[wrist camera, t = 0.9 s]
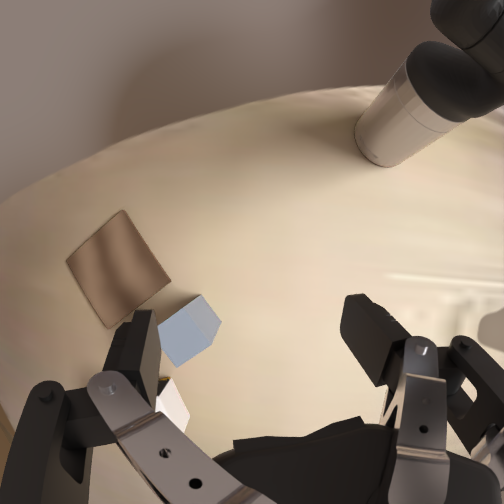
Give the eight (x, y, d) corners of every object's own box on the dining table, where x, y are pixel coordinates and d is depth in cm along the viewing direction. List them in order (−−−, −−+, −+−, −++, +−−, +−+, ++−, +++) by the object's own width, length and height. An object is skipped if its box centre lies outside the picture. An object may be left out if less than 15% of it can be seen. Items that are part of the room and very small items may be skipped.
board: (125, 210, 38) (122, 209, 37) (171, 281, 38) (169, 281, 37) (69, 260, 38) (66, 260, 37) (110, 327, 38) (107, 329, 37)
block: (201, 294, 38) (183, 307, 27) (221, 321, 38) (211, 344, 27) (175, 313, 38) (149, 332, 27) (195, 340, 38) (176, 367, 27)
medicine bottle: (171, 375, 38) (145, 414, 26) (191, 416, 38) (174, 463, 26) (130, 385, 38) (96, 422, 26) (150, 424, 38) (124, 467, 26)
